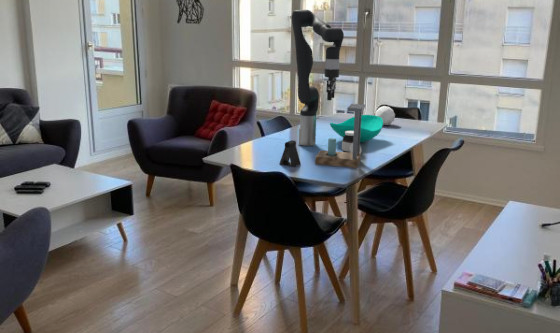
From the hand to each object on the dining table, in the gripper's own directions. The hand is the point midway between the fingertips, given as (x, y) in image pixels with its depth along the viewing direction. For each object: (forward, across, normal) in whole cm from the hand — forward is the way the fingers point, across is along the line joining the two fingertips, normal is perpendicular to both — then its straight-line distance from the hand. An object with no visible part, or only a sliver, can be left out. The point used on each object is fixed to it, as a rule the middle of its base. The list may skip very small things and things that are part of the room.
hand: (330, 99), depth 292 cm
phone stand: (+30, +26, -15) cm, 43 cm away
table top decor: (+30, -36, +10) cm, 48 cm away
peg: (+30, +15, +4) cm, 34 cm away
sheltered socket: (+30, +15, +8) cm, 34 cm away
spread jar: (+30, -6, +12) cm, 33 cm away
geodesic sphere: (+30, -93, +22) cm, 100 cm away
